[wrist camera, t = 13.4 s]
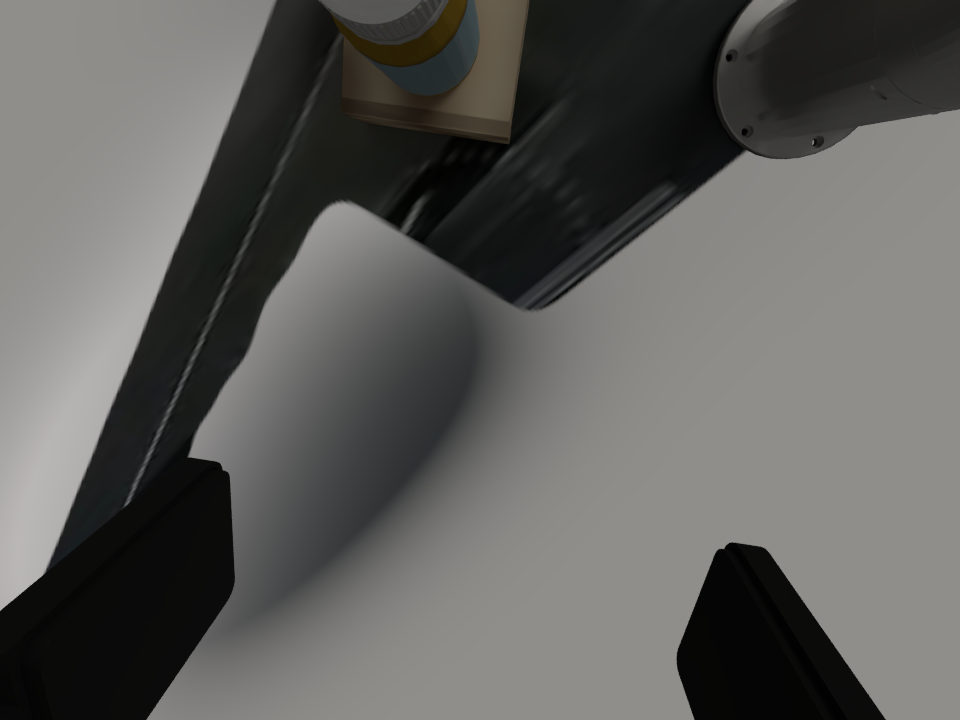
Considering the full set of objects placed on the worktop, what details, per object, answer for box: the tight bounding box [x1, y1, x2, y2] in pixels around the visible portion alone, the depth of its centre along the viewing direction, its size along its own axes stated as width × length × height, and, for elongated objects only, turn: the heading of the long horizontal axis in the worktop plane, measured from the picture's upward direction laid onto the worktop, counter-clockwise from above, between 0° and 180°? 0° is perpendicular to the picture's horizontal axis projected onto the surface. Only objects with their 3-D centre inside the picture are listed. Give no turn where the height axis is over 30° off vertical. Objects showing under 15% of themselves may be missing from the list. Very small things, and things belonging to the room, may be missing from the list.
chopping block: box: [341, 0, 529, 144], centre depth 35 cm, size 12×12×6 cm
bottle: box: [318, 0, 480, 97], centre depth 25 cm, size 7×7×15 cm
